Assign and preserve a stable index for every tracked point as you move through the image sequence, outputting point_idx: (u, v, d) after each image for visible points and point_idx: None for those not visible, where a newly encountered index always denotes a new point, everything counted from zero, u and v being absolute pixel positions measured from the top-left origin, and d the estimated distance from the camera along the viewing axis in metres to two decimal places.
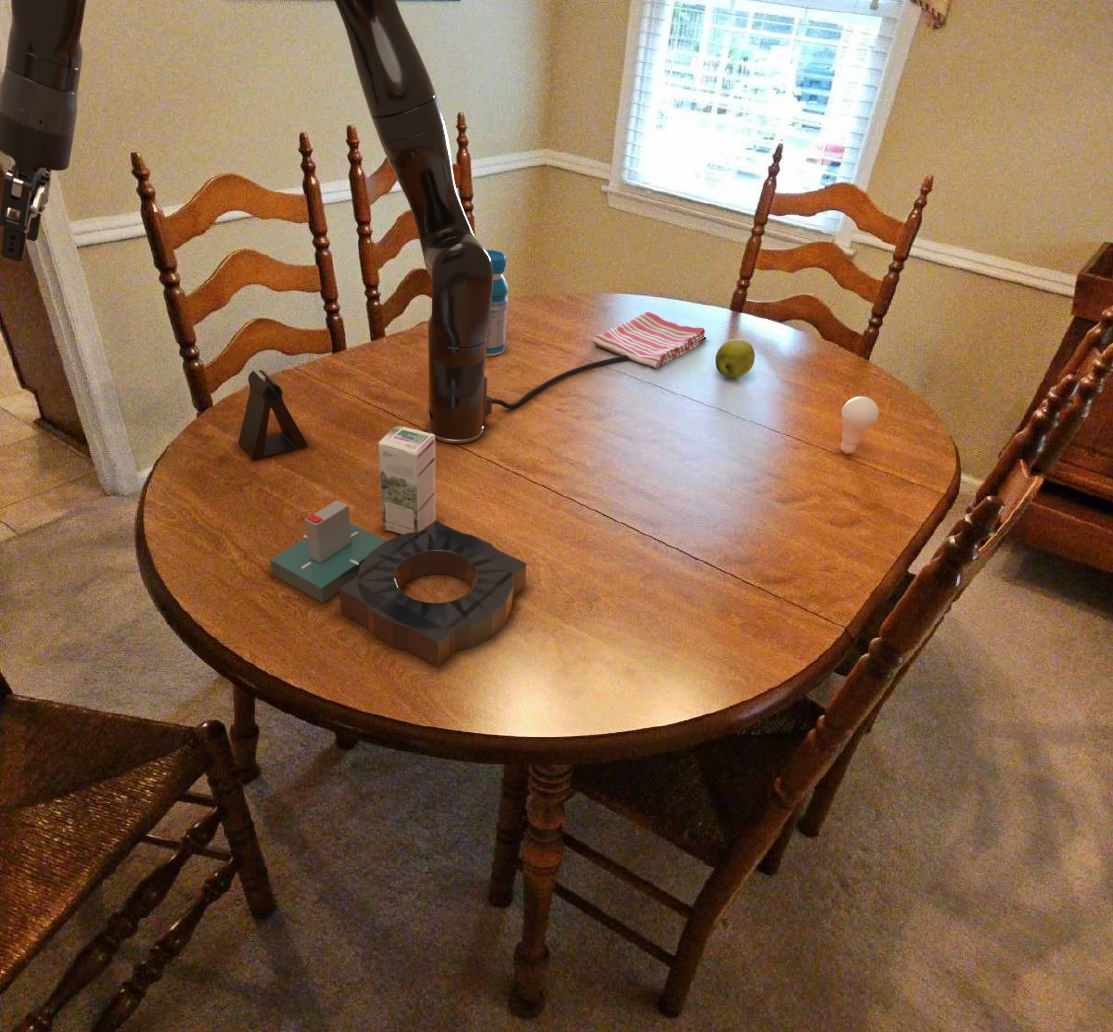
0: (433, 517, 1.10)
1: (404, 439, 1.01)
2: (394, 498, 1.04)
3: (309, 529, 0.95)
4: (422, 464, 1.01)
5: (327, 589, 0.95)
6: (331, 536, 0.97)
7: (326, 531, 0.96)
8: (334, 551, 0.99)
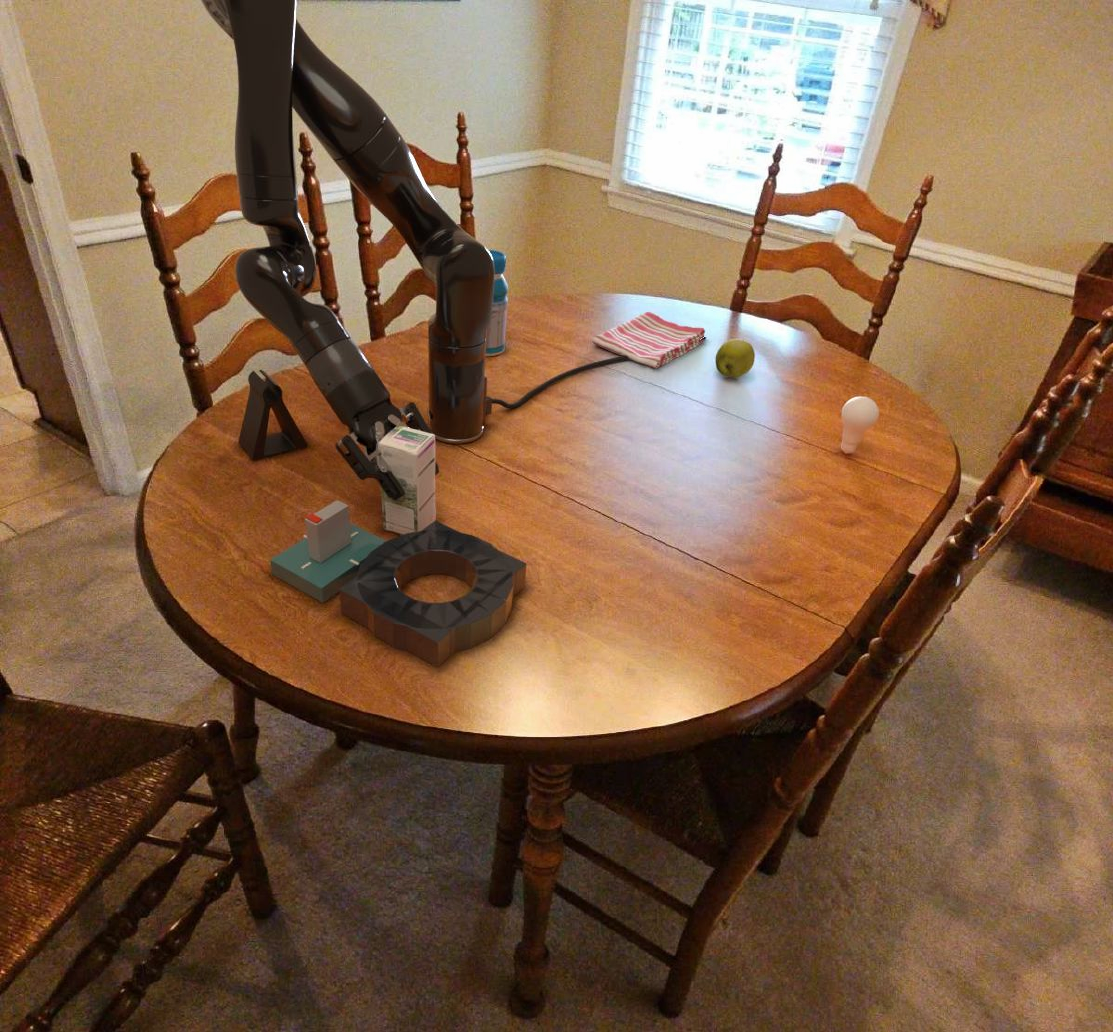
0: (433, 517, 1.10)
1: (404, 439, 1.01)
2: None
3: (309, 529, 0.95)
4: (422, 464, 1.01)
5: (327, 589, 0.95)
6: (331, 536, 0.97)
7: (326, 531, 0.96)
8: (334, 551, 0.99)
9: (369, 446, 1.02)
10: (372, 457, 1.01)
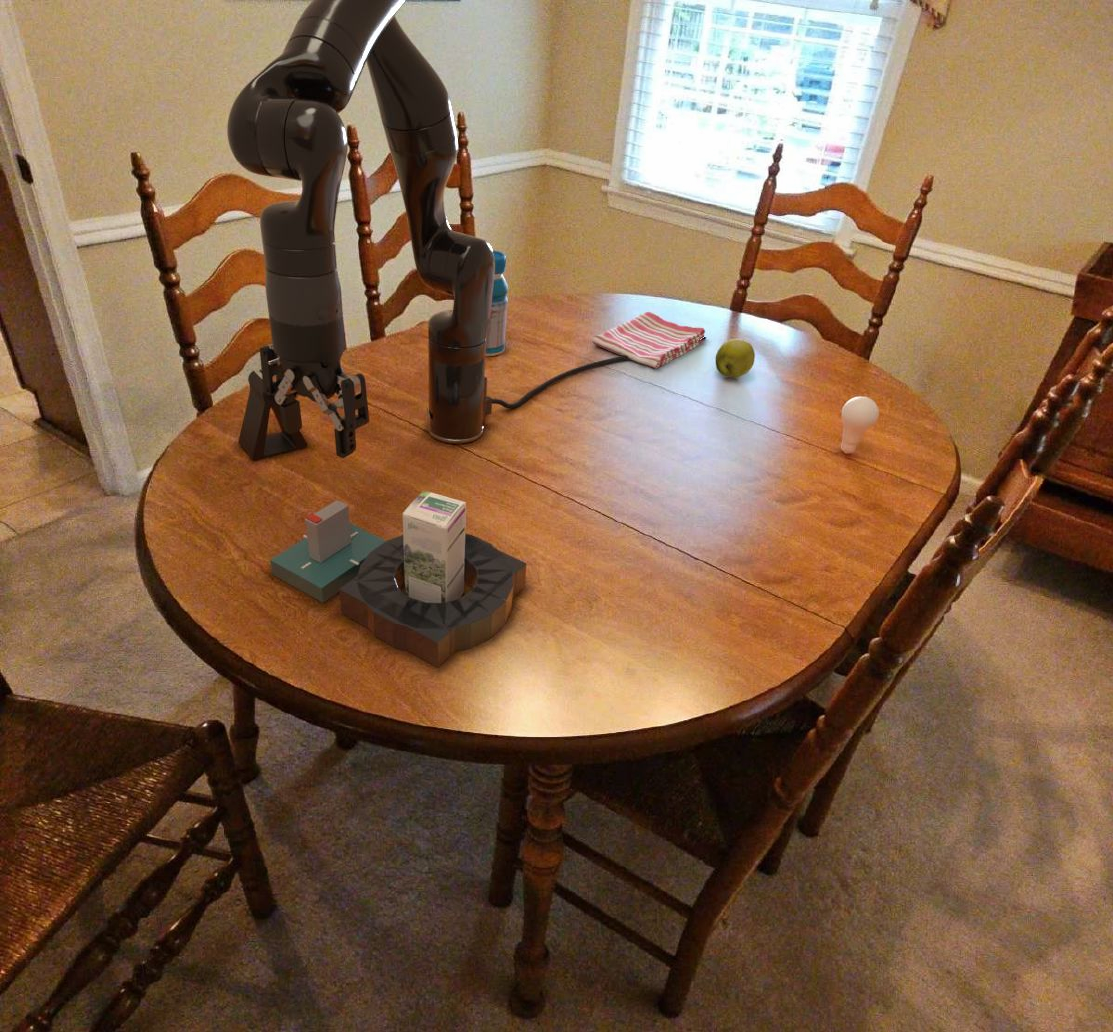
0: (461, 590, 0.98)
1: (432, 509, 0.88)
2: (419, 574, 0.92)
3: (309, 529, 0.95)
4: (451, 537, 0.89)
5: (327, 589, 0.95)
6: (331, 536, 0.97)
7: (326, 531, 0.96)
8: (334, 551, 0.99)
9: (330, 393, 0.85)
10: (339, 405, 0.85)
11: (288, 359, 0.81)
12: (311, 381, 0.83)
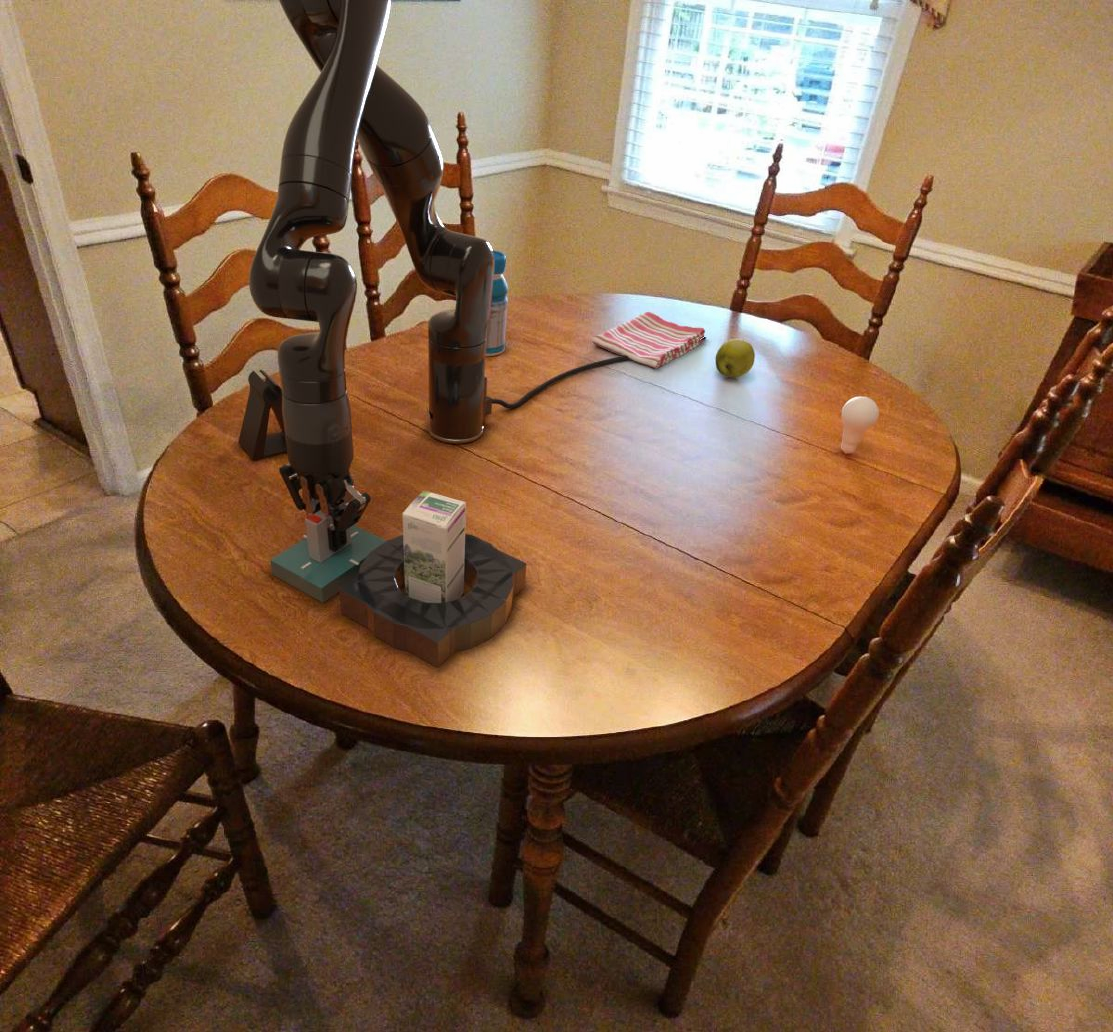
0: (461, 590, 0.98)
1: (431, 509, 0.88)
2: (419, 574, 0.92)
3: (309, 529, 0.95)
4: (451, 537, 0.89)
5: (327, 589, 0.95)
6: None
7: (326, 531, 0.96)
8: None
9: (340, 498, 0.93)
10: (338, 510, 0.94)
11: (302, 472, 0.89)
12: (323, 489, 0.91)
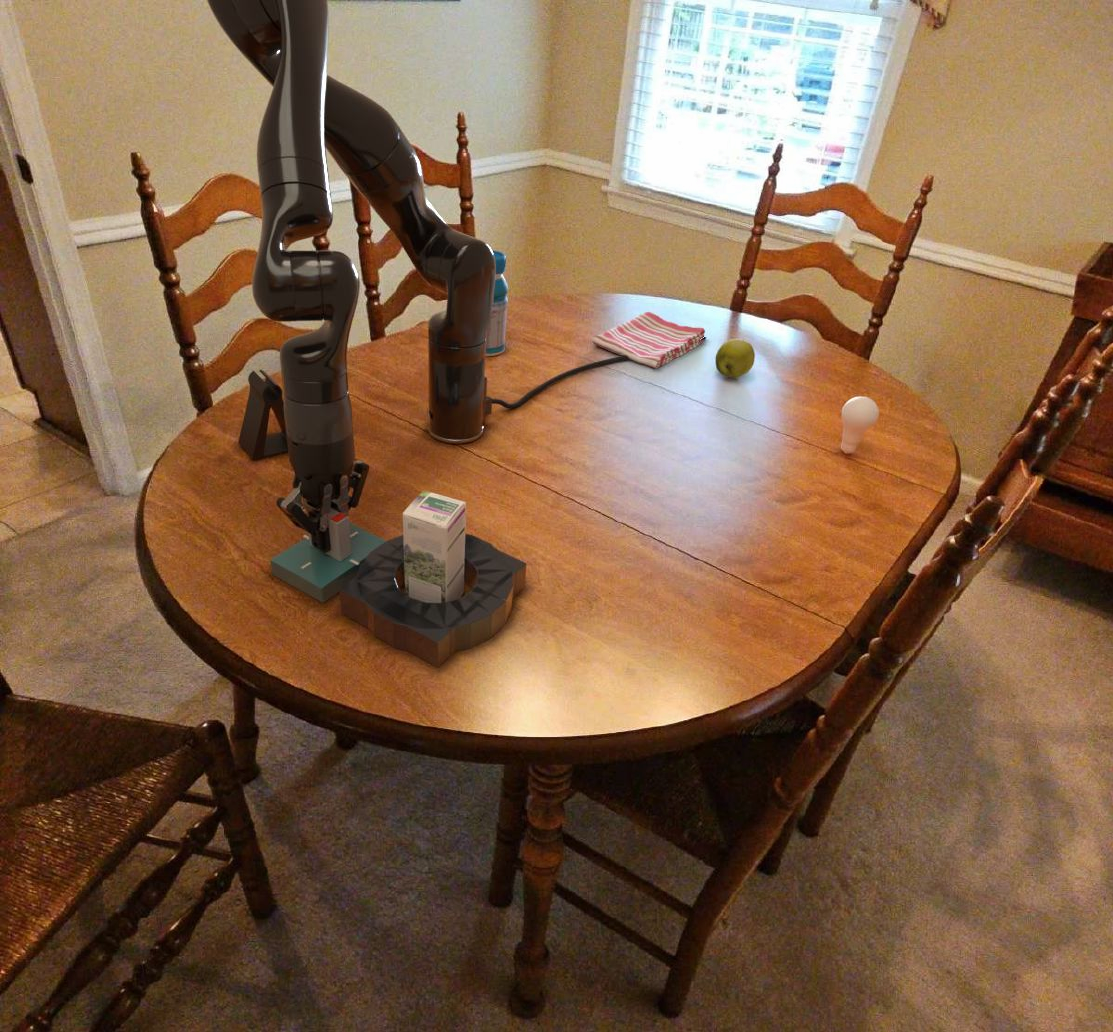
0: (461, 590, 0.98)
1: (432, 509, 0.88)
2: (419, 574, 0.92)
3: (342, 529, 0.96)
4: (451, 537, 0.89)
5: (327, 589, 0.95)
6: None
7: None
8: None
9: None
10: None
11: (349, 465, 0.91)
12: (346, 476, 0.94)
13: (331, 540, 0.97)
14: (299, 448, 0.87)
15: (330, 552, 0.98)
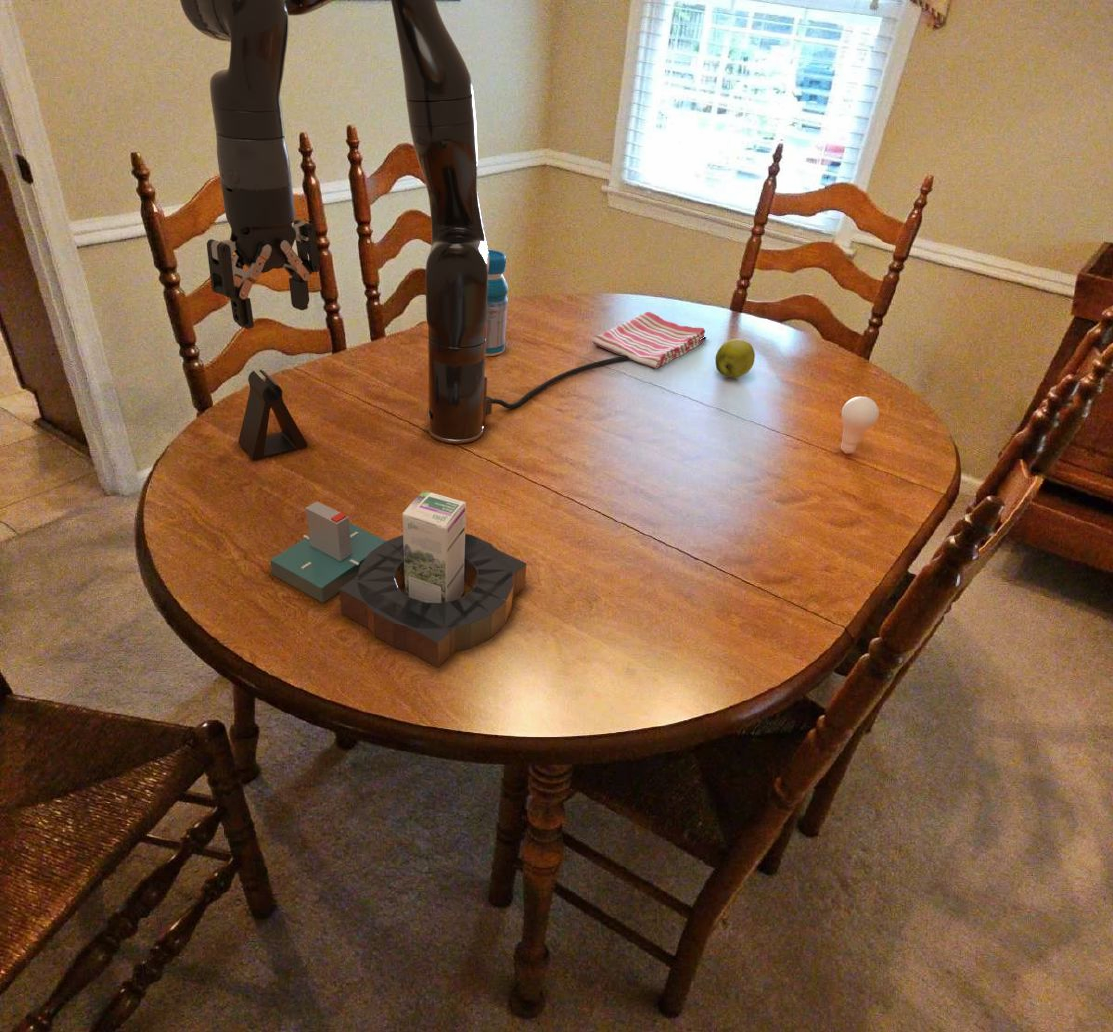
0: (461, 590, 0.98)
1: (431, 509, 0.88)
2: (419, 574, 0.92)
3: (342, 529, 0.96)
4: (451, 537, 0.89)
5: (327, 589, 0.95)
6: None
7: None
8: None
9: None
10: None
11: (288, 223, 0.88)
12: (287, 243, 0.91)
13: (331, 540, 0.97)
14: (233, 195, 0.84)
15: (330, 552, 0.98)
